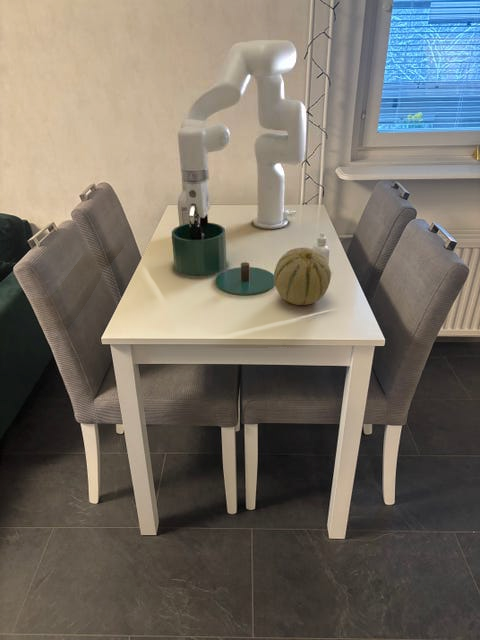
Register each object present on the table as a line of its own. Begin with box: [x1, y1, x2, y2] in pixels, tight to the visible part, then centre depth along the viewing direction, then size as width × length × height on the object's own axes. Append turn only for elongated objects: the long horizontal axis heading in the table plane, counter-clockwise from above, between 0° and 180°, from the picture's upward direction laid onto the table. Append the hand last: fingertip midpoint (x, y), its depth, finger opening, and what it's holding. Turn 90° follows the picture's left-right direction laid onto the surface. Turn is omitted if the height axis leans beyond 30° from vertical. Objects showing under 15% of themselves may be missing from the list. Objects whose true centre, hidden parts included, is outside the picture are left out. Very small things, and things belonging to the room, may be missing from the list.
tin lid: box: [214, 261, 276, 296], centre depth 140 cm, size 17×17×6 cm
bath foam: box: [177, 181, 197, 226], centre depth 169 cm, size 7×7×20 cm
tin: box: [171, 222, 227, 278], centre depth 149 cm, size 16×16×12 cm
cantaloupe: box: [273, 247, 332, 306], centre depth 128 cm, size 15×15×15 cm
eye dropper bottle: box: [312, 232, 330, 265], centre depth 144 cm, size 4×6×12 cm
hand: (199, 232), depth 147 cm, fingers open, 9 cm apart
